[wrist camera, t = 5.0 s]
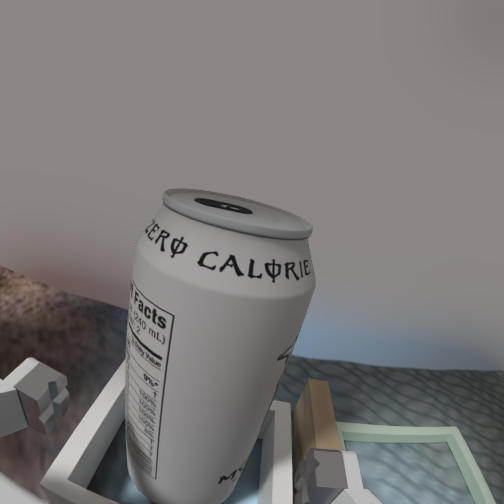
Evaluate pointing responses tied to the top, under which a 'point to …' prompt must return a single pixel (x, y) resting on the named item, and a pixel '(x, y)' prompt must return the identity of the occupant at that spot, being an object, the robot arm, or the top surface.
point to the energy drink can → (209, 338)
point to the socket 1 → (109, 421)
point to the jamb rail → (314, 420)
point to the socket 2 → (423, 435)
